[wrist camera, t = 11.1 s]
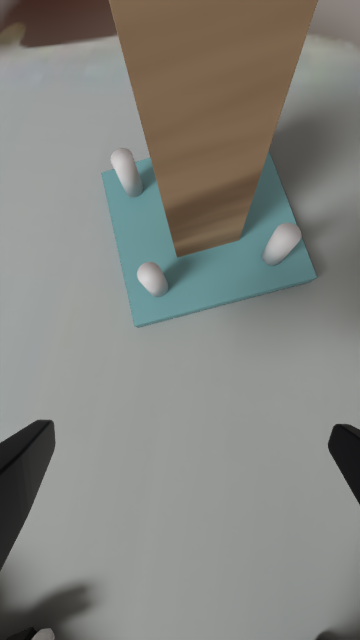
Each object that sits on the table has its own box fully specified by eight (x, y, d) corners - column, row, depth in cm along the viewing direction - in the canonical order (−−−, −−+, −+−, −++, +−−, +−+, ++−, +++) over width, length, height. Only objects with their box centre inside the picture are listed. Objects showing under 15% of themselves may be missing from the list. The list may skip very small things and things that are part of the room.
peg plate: (310, 281, 17) (343, 260, 13) (138, 327, 18) (120, 320, 14) (255, 135, 19) (269, 79, 15) (106, 181, 20) (82, 140, 16)
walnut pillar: (239, 240, 17) (354, -110, 4) (176, 257, 17) (104, -18, 4) (221, 185, 18) (270, -245, 5) (162, 203, 18) (66, -162, 5)
